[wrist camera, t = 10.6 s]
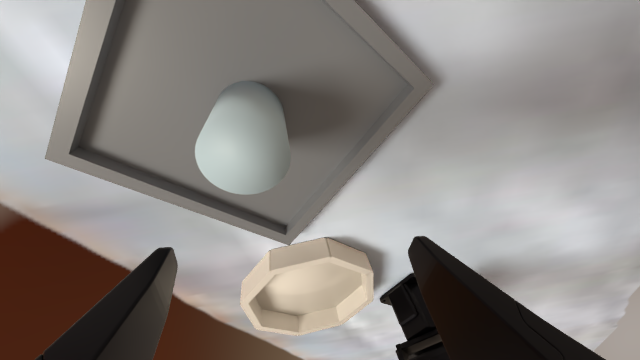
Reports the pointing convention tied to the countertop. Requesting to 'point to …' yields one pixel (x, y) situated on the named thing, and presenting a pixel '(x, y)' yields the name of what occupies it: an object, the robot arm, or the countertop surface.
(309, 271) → the bowl
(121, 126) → the tray
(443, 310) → the robot arm
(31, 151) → the countertop surface
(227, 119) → the peg
